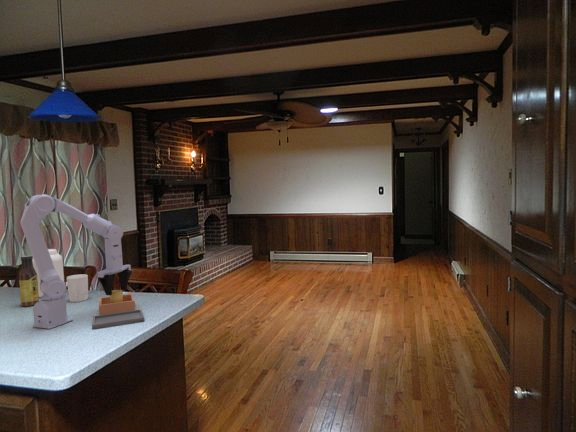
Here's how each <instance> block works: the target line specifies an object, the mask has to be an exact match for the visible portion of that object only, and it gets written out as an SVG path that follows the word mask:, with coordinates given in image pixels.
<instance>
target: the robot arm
mask: <svg viewBox="0 0 576 432" xmlns="http://www.w3.org/2000/svg"><path fill="white" fill-rule="evenodd" d="M51 213H62V214H64V215H66V216H68V217H71V218H72V219H75V220H77V221H79V222H81V223H82V224H83V227H84V228H85V229H87V230H89V231H91V232H93V233H95V234H97V235H99V236H101V237H102V238H103V239H104V249H105V250H104V253H105V267H106V268H105V269H103V270H100V271H97V280H98V281H99V283H100V284H101V286H102V287H103V291H104V293H105V295H106V296H110V295H111V294H112V291H113V287H112V286H113V281H114V277H113V276H111V275H115V274H117V277H118V280H119V287H120V290H122V291H127V288H128V283H129V280H130V277H131V275H132V274H133V273H132V270H131V269H132V268H131V267H132V265H131V264H124V265H123V251H122V250H123V249H122V238H123V236H124V231H123V229H122V227H121V226H119V225H118V224H113V223H112V221H111V220H106V219H104V218H102V217H101V214H98V213H90V214H87V213H85V212H83V211H82V210H80V209H77V208H76V207H74V206H73V205H71V204H70V203H67V202H66V201H64V200H61V199H59V198H56V197H53V196H51V195H49V194H45V193H44V194H43V193H42V194H35V195H33V196H30V198H29V199H28V200H27V201H26V203H25V204H24V209H23V212H22V216H21V218H20V226H21V229H22V232H23V234H24V237H25V240H26V242H27V245H28V247H29V250H30V253H31V256H33V259H34V261H35V264H36V267H37V269H38V272H39V278H40V290H41V291H42V292H43V293H44V294H43V295H42V297H41V299H40V300H39V302H37V303H36V304H35V305H33V308H32V311H33V325H32V327H33V328H40V329H49V330H50V329H53V328H55V327H59V326H60V325H64V324H66V323H69V322H72V321H74V318H70V317H68V312H67V310H68V309H67V298H66V291H67V285H66V284H67V283H65V281H64V282H63V281H62V280H61V279H60V277H59V275H58V273H57V271H56V270H55V267H54V265H53V262H52V259H51V257H50V254H49V251H48V249H49V248H48V246H47V242H46V241H45V238H44V235H43V233H42V229H41V226H40V224H41V223H42V222H43V220H44V219H45V217H47V215H49V214H51Z"/></svg>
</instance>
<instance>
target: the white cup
mask: <svg viewBox="0 0 576 432" xmlns="http://www.w3.org/2000/svg"><path fill="white" fill-rule="evenodd" d="M88 278H89V275H88V274H85V273H84V274H81V273H80V274H73V275H68V276H66V284H67V285H66V287H67V292H68V296H69V297H68V298H69V302H72V303H77V302H83V301H87V300H89V299H88V298H89V294H88V293H89V279H88Z"/></svg>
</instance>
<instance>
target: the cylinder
mask: <svg viewBox="0 0 576 432" xmlns="http://www.w3.org/2000/svg"><path fill="white" fill-rule="evenodd" d="M123 295H124V294H123V290H121V289H112V294H111V295H109V297H110V303H118V302H123Z"/></svg>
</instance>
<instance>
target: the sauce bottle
mask: <svg viewBox="0 0 576 432" xmlns="http://www.w3.org/2000/svg"><path fill="white" fill-rule="evenodd" d="M32 259H33V256H32V255H23V256H20V261H21V269H20V271H19V274H18V275H19V276H18V277H19V280H18V283H19V294H20V305H21V306H22V307H32V306H33V307H34V305H35V304H36V303H37V302H39V301H40V298H39V293H38V280H37V273H36V271H35V269H34V267H33V262H32Z"/></svg>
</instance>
